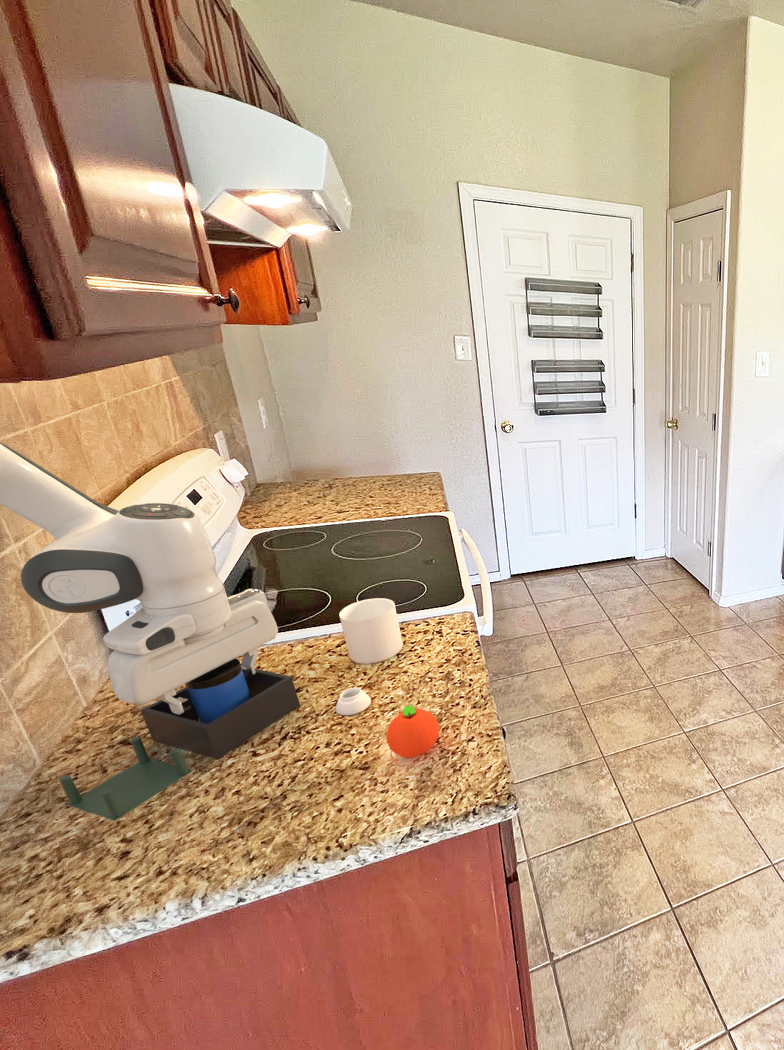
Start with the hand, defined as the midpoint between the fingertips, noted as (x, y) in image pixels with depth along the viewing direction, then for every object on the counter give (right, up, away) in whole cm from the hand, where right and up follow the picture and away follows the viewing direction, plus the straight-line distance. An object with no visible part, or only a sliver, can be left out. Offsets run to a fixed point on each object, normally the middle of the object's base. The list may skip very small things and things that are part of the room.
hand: (216, 692), depth 87 cm
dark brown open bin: (0, -6, +3) cm, 7 cm away
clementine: (+31, -9, -1) cm, 32 cm away
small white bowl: (+16, -5, +8) cm, 19 cm away
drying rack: (-2, -11, -10) cm, 15 cm away
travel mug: (0, -6, +2) cm, 6 cm away
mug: (+10, +2, +25) cm, 27 cm away
